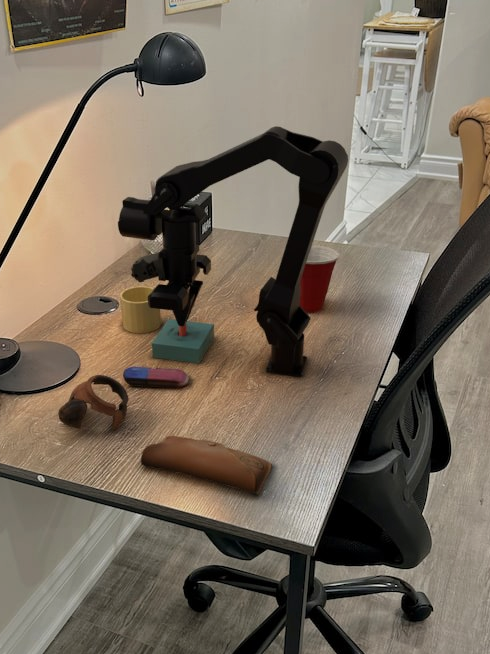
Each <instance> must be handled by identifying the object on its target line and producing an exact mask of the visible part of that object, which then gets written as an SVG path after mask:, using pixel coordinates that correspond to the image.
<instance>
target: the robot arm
mask: <svg viewBox="0 0 490 654" xmlns="http://www.w3.org/2000/svg"><path fill="white" fill-rule="evenodd" d="M268 160H270V161H271V162H274V163H276V164H277V165H278V166H280V167H281V168H282V169H284V170H285V171H286V172H288V173H290V174H291V175H294V176H296V177H298V178H299V179H298V186H297V187H298V206H297V207H296V211H295V215H294V218H293V221H292V225H291V228H290V231H289V235H288V237H287V240H286V243H285V244H286V245H285V247H284V251H283V254H282V257H281V260H280V264H279V268H278V270H277V273H276V276H275V278H274V277H272V276H270V277H269V279H268V280H267V281H266V282H265V284H264V285H263V286H262V288H261V289H260V290H259V294H258V301H257V305H256V306H255V308H254V309H253V311H254V312H256V317H255V318H256V319H255V320H256V322H257V323H258V325H259V327H260V328H261V329H262V330H263V332H264V335H265V338H266V341H267V344H268V345H270V347H271V348H270V357H269V360H268V362H267V365H266V367H265V373H271V374H278V375H285V376H293V377H294V376H295V377H302V376H303V373H304V370H305V367H306V364H307V361H308V357H307V356H306V355H304V349H305V334H304V331H305V330H306V329H307V328H308V326H309V324H310V321H311V319H312V317H311V316H310V315H309V314H308V312H305V311H304V310H303V308H302V307H301V306H300V305H299V302H300V295H301V286H300V281H301V277H302V274H303V271H304V268H305V264H306V261H307V258H308V255H309V252H310V249H311V246H313V243H314V240H315V237H316V234H317V231H318V228H319V225H320V222H321V220H322V216H323V213H324V210H325V206H326V205H327V202H328V201H329V199H330V197H331V196H332V194H333V192H334V191H335V189H336V187H337V186H338V184H339V182H340V180H341V178H342V176H343V174H344V173H345V171H346V169H347V166H348V164H349V155H348V153H347V151H346V148H345V147H344V146H343V145H342V144H341V143H339V142H337V141H335V140H331V139H329V140H324V141H323V140H321V139H319V138H316V137H314V136H310V135H306V134H301V133H299V132H298V133H297V132H293V131H291V130H288V129H286V128H284V127H281V126H272V127H270V128H269V129H268V130H266V131H265V132H263V133H261V134H259V135H256V136H254V137H253V138H250V139H249V140H246V141H244V142H242V143H240V144H238V145H236V146H233V147H232V148H229V149H227V150H225V151H222V152H221V153H218V154H217V155H215V156H212V157H210V158H207V159H204V160H199V161H191V162H187V163H183V164H179V165H176V166H174V167H173V168H171V169H170V170H168V171H167V172H166V173H164V174H162V175H161V176H159V177H158V178H157V179H156V181H155V185H154V194H153V195H152V197H151V198H150V200H149V199H140V198H136V197H133V196H127V197H125V198H124V199H123V200H122V202H121V203H122V208H121V209H120V211H119V216H118V221H117V229H118V232H119V234H120V236H122V237H124V238H131V239H136V240H137V239H139V240H146V241H155V240H156V239H157V238H158V236H162V249H161V250H160V251H159V252H154V253H150V254H147V255H144V256H141V257H139V258H137V260H135V261H134V262H133V263H132V266H131V267H130V270H131V274H130V276H131V278H134V280H135V281H137V282H138V283H144V282H145V281H148V280H151V279H155V278H158V281H159V282H166V281H167V283H166V284H163V283H158V284H157V285H156V286H155V287H153V288H154V289H153V290H152V292H151V293H150V294H149V295H148V306H149V307H150V308H155V309H160V310H166V311H172V313H173V316H174V319H175V320H176V321H177V323H178V325H179V326H184V325H185V322H187V321H189V318H190V316H191V313H192V311H193V308H194V305H195V303H196V301H197V298H198V296H199V294H200V292H201V290H202V287H203V284H204V281H203V280H199V279H198V280H197V277H198V276H199V274H200V273H201V269H202V274H203V275H205V276H207V275H209V274H210V272H211V270H212V260H211V258H209V256H208V255H207V254H198V253H199V252H200V244H197V237H196V235H197V233H196V224H200V223H201V222H202V221H204V220H205V219H206V218H207V217H208V213H207V212H206V211H205V210H204V209H202V208H201V207H200V206H199V204H198V203H195V204H194V205H193V206H191V207H184V206H185V204H187V203H188V202H189V201H191V200H192V199H194V198H195V197H197V196H198V195H200V194H201V193H202V192H204V191H205V190H206V189H207V188H209V187H210V186H213V185H216V184H217V183H219V182H221V181H224V180H226V179H228V178H230V177H233V176H235V175H237V174H240V173H242V172H244V171H246V170H248V169H250V168H252V167H255V166H257V165H260V164H262V163H264V162H266V161H268Z"/></svg>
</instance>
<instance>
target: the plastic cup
mask: <svg viewBox="0 0 490 654" xmlns="http://www.w3.org/2000/svg"><path fill="white" fill-rule="evenodd" d="M340 256H341V255H340V252H339V251H338V250H336V249H333V248H331V247H327V246H323V245H321V246H320V245H312V246H311V249H310V252H309V255H308V258H307V261H306V264H305V268H304V271H303V274H302V277H301V281H300V286H301V295H300V302H299V305H300V306H301V307H302V308H303V310H304V311H305V312H306V313H317V312H319V311H321V310H323V307H324V305H325V303H326V302H325V301H326V297H327V294H328V291H329V287H330V284H331V280H332V277H333V272H334V269H335V265H336V263H337V261H338V260H339V257H340Z"/></svg>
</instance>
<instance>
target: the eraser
mask: <svg viewBox="0 0 490 654" xmlns="http://www.w3.org/2000/svg"><path fill="white" fill-rule="evenodd" d="M122 376H123V379H124V383H126V384H127V385H129V386H131V387H132V386H133V387H151V388H167V389H179V388H184V387H186V386H187V385H188V383H189V381H190V379H189V375H188V374H187V373H186V372H185V371H184V370H182V369H178V368H164V367H163V368H161V367H160V368H159V367H155V368H153V367H148V366H146V367H145V366H129V367H127V368H125V369H124V371H123V375H122Z"/></svg>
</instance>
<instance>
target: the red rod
mask: <svg viewBox="0 0 490 654" xmlns="http://www.w3.org/2000/svg"><path fill="white" fill-rule="evenodd" d="M179 336H187V324H186V322H185V325H184V326H179Z"/></svg>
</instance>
